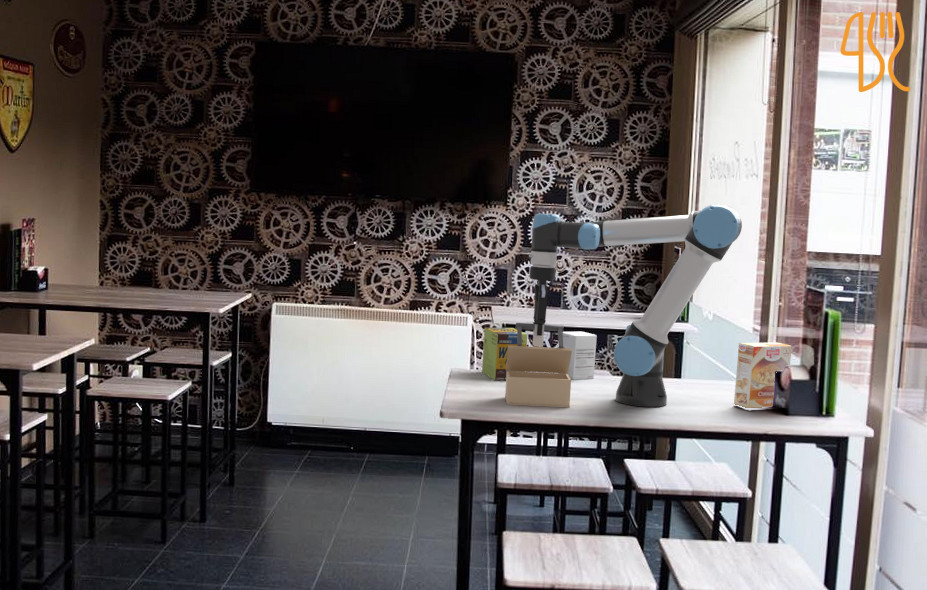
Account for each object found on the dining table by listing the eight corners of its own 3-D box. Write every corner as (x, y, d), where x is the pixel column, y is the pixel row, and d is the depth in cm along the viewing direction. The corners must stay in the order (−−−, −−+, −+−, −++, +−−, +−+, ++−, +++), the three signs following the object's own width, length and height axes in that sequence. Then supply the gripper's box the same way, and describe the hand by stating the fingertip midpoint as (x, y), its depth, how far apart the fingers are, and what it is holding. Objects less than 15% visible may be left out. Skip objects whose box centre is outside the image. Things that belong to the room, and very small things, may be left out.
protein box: (494, 381, 318) (497, 333, 316) (481, 372, 332) (483, 326, 331) (525, 381, 320) (528, 333, 319) (510, 372, 335) (513, 327, 334)
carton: (565, 400, 292) (567, 373, 291) (569, 407, 282) (571, 379, 281) (505, 397, 291) (506, 370, 291) (506, 404, 282) (508, 376, 281)
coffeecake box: (748, 411, 289) (754, 346, 287) (732, 406, 295) (737, 342, 293) (787, 409, 295) (792, 345, 293) (770, 404, 302) (775, 341, 300)
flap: (567, 373, 291) (566, 350, 298) (572, 347, 283) (570, 324, 289) (505, 370, 291) (505, 347, 297) (508, 344, 283) (508, 321, 289)
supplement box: (557, 375, 334) (560, 331, 333) (579, 373, 339) (581, 330, 337) (572, 379, 326) (575, 335, 325) (594, 378, 331) (597, 334, 329)
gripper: (528, 264, 295) (522, 341, 298) (532, 267, 280) (527, 348, 282) (552, 265, 296) (547, 342, 298) (558, 268, 281) (553, 350, 283)
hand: (537, 345), depth 290 cm, fingers open, 2 cm apart
